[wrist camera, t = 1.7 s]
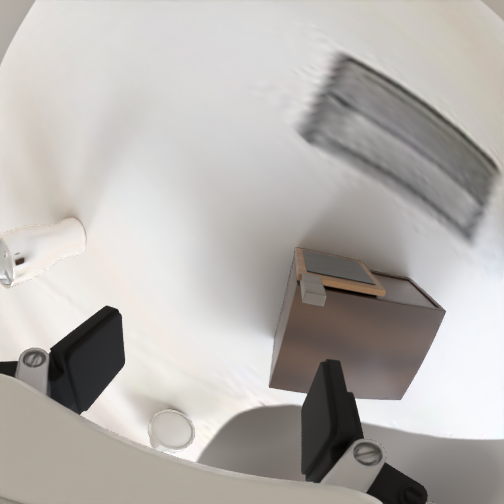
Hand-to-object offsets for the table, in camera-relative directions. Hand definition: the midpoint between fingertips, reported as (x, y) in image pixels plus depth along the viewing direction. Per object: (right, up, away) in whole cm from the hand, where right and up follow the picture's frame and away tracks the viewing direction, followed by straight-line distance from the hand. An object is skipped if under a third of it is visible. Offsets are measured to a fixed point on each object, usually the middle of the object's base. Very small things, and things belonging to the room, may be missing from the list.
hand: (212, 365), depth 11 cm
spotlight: (-13, -28, +33) cm, 45 cm away
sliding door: (+11, +4, +21) cm, 24 cm away
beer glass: (-26, +7, +26) cm, 38 cm away
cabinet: (+13, -3, +23) cm, 27 cm away
